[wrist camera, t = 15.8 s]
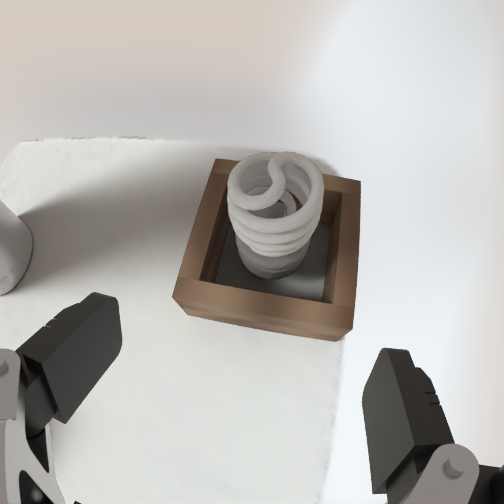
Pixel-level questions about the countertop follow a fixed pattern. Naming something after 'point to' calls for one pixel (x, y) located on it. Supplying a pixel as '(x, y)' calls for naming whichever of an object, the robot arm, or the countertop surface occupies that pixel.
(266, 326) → the square brown bulb holder
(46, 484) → the robot arm
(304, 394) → the countertop surface
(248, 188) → the light bulb
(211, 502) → the countertop surface
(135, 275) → the countertop surface
